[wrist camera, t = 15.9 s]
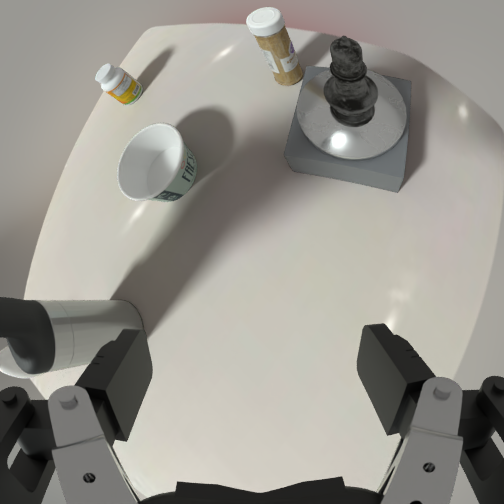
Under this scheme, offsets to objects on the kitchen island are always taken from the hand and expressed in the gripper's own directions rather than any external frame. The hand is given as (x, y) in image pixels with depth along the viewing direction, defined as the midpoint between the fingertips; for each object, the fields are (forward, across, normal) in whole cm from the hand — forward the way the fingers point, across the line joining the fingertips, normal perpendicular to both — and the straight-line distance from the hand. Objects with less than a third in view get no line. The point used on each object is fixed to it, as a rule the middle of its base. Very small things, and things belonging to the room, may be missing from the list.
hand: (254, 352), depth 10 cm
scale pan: (+27, -13, -13) cm, 32 cm away
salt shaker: (+25, -12, -14) cm, 31 cm away
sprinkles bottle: (+38, -7, -21) cm, 44 cm away
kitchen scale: (+30, -14, -11) cm, 35 cm away
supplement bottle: (+50, +23, -23) cm, 59 cm away
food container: (+39, +12, -6) cm, 41 cm away
